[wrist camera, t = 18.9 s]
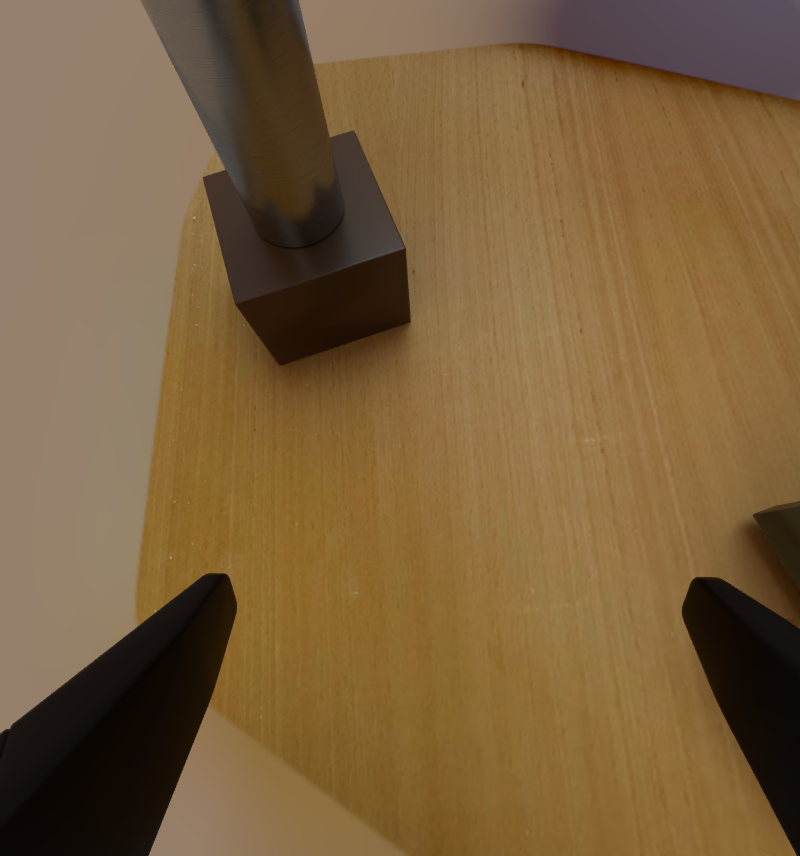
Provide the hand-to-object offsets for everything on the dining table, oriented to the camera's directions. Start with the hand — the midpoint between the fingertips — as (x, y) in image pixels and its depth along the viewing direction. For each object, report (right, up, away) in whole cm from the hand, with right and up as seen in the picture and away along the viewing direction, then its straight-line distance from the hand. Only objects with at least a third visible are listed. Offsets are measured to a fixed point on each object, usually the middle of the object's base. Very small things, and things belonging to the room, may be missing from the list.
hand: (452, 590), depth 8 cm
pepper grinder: (-6, +14, +12) cm, 19 cm away
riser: (-5, +12, +18) cm, 22 cm away
